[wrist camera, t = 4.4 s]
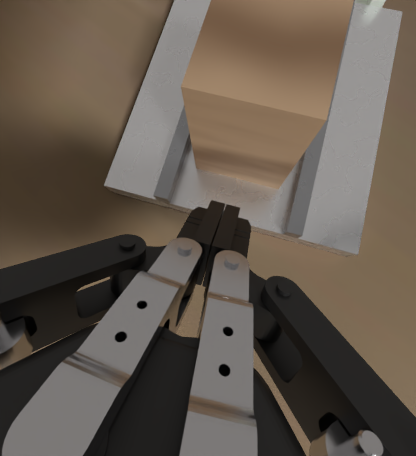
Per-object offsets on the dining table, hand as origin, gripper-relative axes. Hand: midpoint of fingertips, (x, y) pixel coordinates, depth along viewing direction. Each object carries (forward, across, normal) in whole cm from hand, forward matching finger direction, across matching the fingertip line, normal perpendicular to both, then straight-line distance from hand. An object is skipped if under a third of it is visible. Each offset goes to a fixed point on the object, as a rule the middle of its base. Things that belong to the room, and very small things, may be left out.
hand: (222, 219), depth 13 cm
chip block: (+8, 0, +2) cm, 8 cm away
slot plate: (+12, 0, +4) cm, 13 cm away
